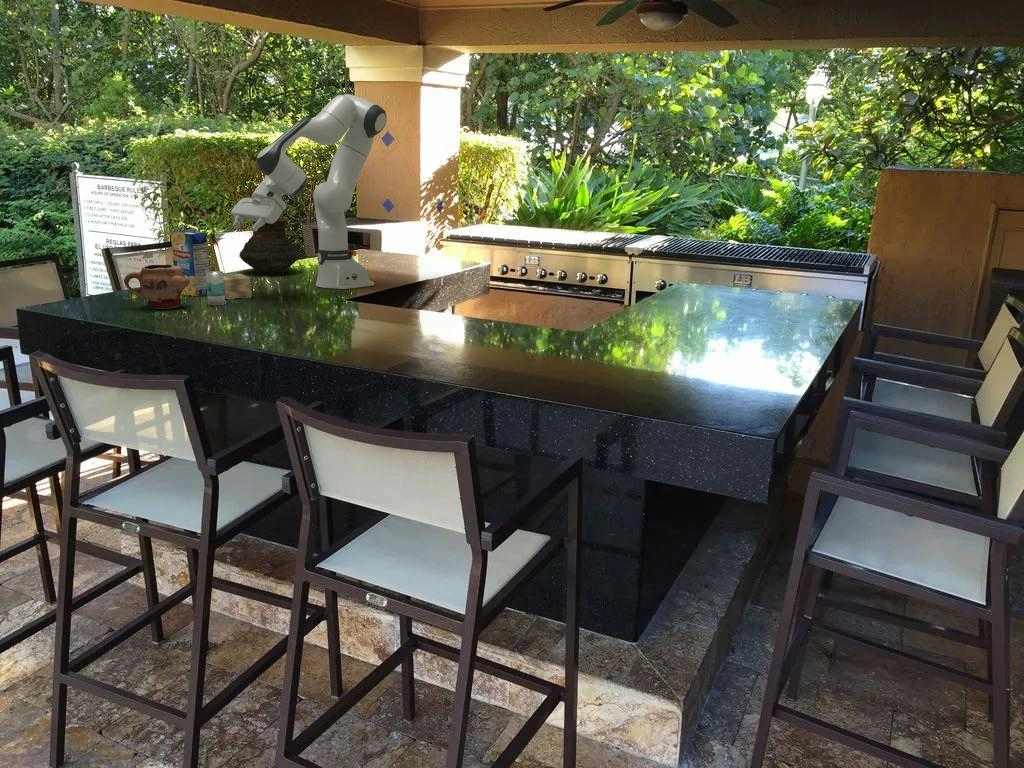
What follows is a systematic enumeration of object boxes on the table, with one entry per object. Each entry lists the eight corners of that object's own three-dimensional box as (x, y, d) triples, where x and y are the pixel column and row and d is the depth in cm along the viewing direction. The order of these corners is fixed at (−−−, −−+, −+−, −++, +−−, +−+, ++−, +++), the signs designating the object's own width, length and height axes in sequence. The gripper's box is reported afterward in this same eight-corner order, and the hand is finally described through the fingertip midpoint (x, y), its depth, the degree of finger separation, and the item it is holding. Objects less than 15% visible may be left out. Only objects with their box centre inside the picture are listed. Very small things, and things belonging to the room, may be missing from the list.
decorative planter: (128, 313, 273) (123, 269, 270) (125, 306, 284) (121, 264, 280) (194, 309, 282) (190, 267, 278) (189, 302, 293) (186, 261, 289)
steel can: (222, 302, 295) (220, 270, 292) (227, 305, 290) (225, 272, 287) (206, 303, 292) (203, 271, 289) (210, 306, 287) (208, 273, 284)
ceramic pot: (296, 277, 349) (294, 221, 343) (235, 276, 346) (232, 220, 339) (303, 268, 372) (301, 216, 365) (245, 267, 368) (242, 215, 362)
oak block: (243, 293, 312) (242, 274, 310) (251, 297, 304) (250, 278, 302) (215, 295, 307) (213, 275, 305) (222, 299, 299) (221, 279, 297)
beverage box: (196, 296, 303) (191, 234, 297) (175, 293, 308) (170, 231, 302) (211, 294, 308) (207, 232, 302) (191, 290, 314) (186, 230, 308)
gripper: (240, 190, 302) (218, 219, 297) (279, 194, 291) (257, 225, 286) (251, 202, 307) (230, 232, 301) (290, 207, 296) (269, 237, 291)
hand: (243, 228), depth 294 cm, fingers open, 8 cm apart
